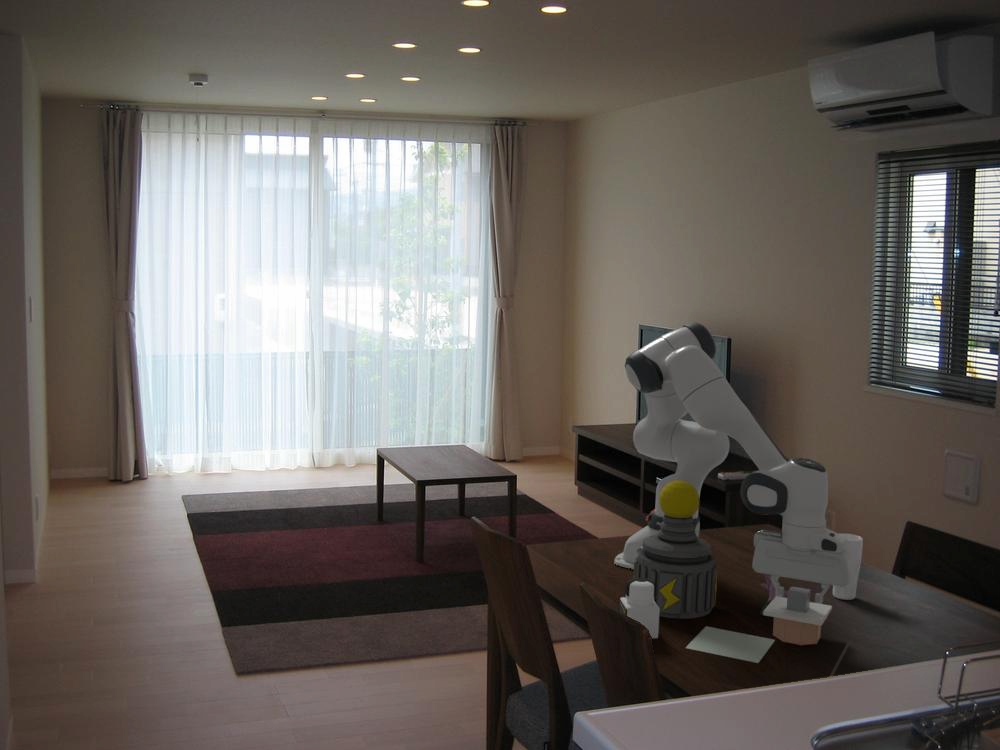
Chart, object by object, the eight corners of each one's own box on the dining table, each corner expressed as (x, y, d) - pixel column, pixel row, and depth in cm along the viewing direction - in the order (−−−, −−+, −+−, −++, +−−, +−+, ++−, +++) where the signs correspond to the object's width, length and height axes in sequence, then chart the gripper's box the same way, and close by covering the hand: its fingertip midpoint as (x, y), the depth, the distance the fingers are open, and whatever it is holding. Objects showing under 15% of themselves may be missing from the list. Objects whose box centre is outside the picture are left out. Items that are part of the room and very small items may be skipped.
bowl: (769, 641, 222) (771, 614, 222) (779, 628, 230) (780, 602, 230) (814, 650, 218) (816, 622, 217) (822, 636, 226) (824, 610, 226)
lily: (795, 629, 233) (813, 590, 235) (747, 605, 235) (764, 566, 236) (783, 627, 245) (799, 590, 247) (736, 604, 247) (753, 567, 248)
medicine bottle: (618, 628, 227) (620, 574, 226) (650, 628, 228) (653, 575, 226) (624, 640, 220) (627, 585, 218) (658, 640, 220) (661, 585, 219)
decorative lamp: (717, 600, 248) (725, 476, 245) (711, 626, 230) (719, 492, 227) (638, 591, 253) (644, 469, 250) (626, 616, 235) (632, 485, 232)
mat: (685, 650, 215) (685, 647, 215) (705, 628, 229) (706, 626, 229) (758, 665, 209) (758, 662, 208) (775, 642, 222) (775, 639, 222)
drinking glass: (860, 603, 250) (865, 541, 249) (830, 600, 252) (835, 539, 250) (856, 594, 257) (861, 534, 255) (827, 591, 258) (832, 532, 257)
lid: (762, 614, 221) (764, 592, 220) (775, 599, 232) (777, 578, 231) (821, 625, 216) (823, 603, 215) (831, 609, 226) (833, 587, 226)
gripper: (750, 531, 224) (746, 594, 225) (850, 546, 214) (845, 612, 216) (757, 525, 229) (753, 586, 231) (855, 539, 220) (850, 603, 222)
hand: (798, 599), depth 223 cm, fingers open, 7 cm apart
